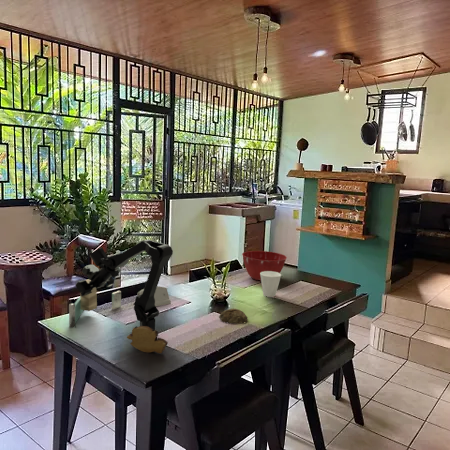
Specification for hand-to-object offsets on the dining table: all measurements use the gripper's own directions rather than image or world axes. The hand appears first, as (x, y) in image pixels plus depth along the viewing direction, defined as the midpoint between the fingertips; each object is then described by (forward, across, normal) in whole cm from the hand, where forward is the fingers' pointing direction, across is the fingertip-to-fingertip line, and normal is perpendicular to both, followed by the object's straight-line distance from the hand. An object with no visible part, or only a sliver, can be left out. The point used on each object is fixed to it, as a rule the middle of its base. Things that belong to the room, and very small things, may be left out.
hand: (85, 293), depth 187 cm
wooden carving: (-25, +14, +40) cm, 49 cm away
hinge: (-4, -29, +19) cm, 35 cm away
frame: (+3, -1, +11) cm, 11 cm away
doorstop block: (+4, 0, +6) cm, 7 cm away
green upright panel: (+8, +2, +6) cm, 10 cm away
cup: (-36, -77, +51) cm, 99 cm away
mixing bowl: (-25, -107, +40) cm, 117 cm away
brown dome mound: (-34, -33, +50) cm, 69 cm away
